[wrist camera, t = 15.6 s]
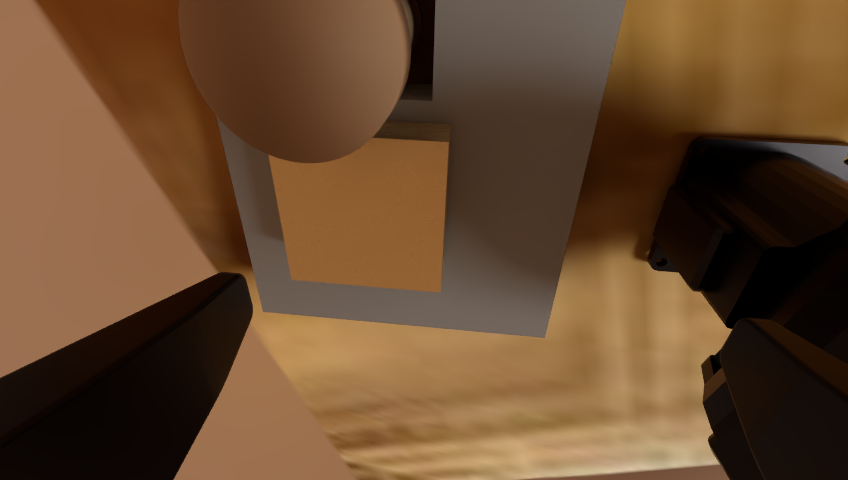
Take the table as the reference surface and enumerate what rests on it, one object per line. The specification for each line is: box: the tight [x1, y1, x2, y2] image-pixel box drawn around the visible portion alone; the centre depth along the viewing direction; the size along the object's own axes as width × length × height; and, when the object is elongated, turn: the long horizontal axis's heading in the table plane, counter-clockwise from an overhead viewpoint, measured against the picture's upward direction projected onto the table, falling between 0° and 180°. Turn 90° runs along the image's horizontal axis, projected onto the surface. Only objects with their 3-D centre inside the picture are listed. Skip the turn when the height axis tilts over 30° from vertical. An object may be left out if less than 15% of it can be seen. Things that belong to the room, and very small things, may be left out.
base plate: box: [216, 0, 626, 338], centre depth 17 cm, size 14×18×3 cm
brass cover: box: [269, 121, 452, 293], centre depth 16 cm, size 6×6×2 cm
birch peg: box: [178, 0, 421, 163], centre depth 12 cm, size 4×4×10 cm
